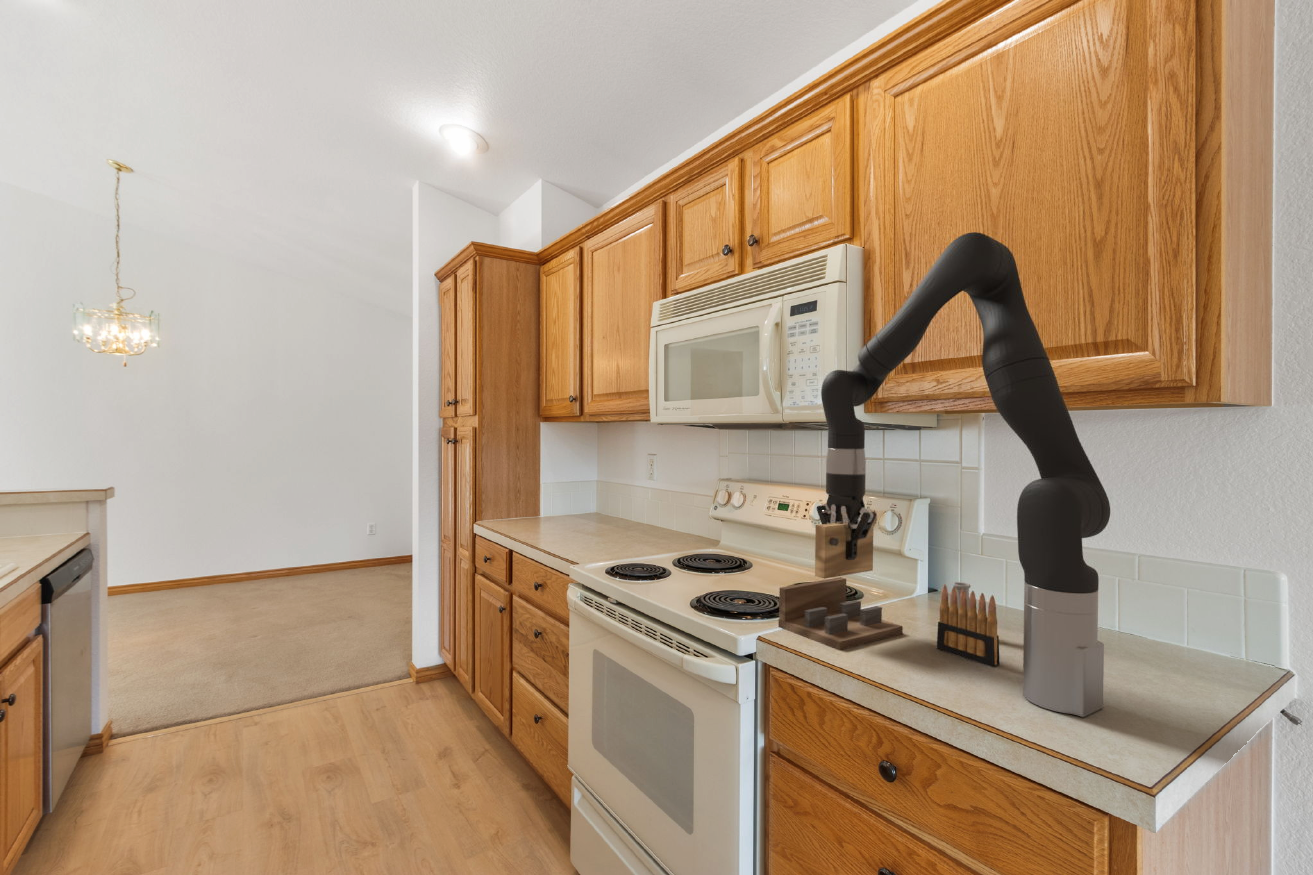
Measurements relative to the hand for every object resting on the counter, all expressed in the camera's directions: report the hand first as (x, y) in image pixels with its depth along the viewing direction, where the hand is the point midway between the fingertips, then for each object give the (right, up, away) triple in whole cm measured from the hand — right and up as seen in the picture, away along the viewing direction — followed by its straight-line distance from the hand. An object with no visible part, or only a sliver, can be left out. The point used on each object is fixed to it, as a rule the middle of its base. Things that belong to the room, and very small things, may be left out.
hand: (844, 557), depth 125 cm
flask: (+23, -15, -1) cm, 27 cm away
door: (0, -3, 0) cm, 3 cm away
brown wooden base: (-1, -15, +1) cm, 15 cm away
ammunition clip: (+18, -15, -13) cm, 27 cm away
